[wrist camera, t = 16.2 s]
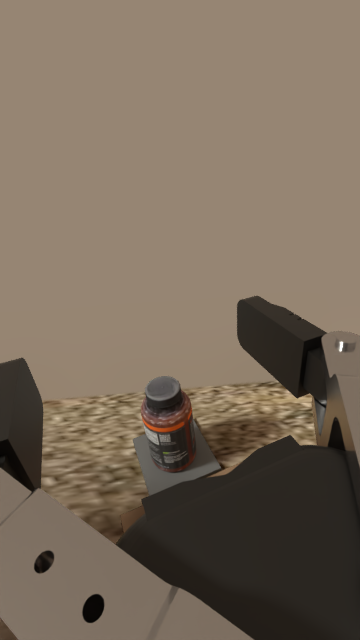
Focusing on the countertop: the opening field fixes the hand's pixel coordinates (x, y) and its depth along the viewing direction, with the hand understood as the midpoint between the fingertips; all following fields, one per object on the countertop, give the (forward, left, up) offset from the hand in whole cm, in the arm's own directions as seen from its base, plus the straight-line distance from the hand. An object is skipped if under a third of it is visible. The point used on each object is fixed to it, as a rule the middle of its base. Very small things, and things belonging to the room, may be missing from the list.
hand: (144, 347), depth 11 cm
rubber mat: (+4, +16, -28) cm, 33 cm away
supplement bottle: (+4, +16, -28) cm, 32 cm away
